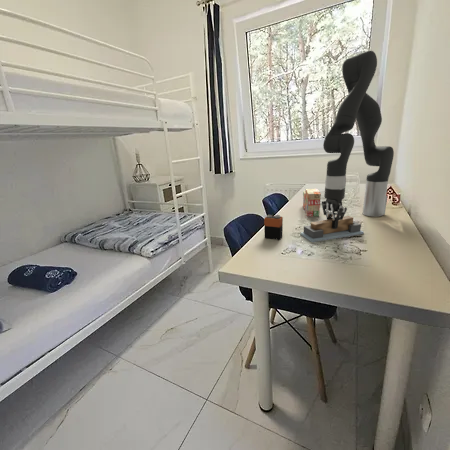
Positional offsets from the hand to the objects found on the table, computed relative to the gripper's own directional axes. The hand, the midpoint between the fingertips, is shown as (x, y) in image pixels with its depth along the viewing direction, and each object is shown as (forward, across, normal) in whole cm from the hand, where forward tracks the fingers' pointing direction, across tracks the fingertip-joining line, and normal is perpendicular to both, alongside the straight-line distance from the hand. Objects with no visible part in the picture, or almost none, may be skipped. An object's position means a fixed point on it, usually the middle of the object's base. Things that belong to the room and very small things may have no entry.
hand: (331, 227), depth 106 cm
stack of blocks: (+4, -35, +11) cm, 37 cm away
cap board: (+3, 0, 0) cm, 3 cm away
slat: (+2, 0, 0) cm, 2 cm away
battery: (+4, -6, -24) cm, 25 cm away
